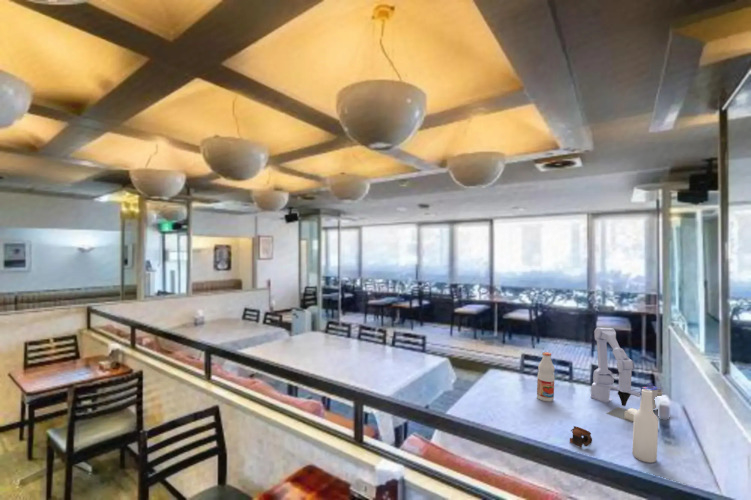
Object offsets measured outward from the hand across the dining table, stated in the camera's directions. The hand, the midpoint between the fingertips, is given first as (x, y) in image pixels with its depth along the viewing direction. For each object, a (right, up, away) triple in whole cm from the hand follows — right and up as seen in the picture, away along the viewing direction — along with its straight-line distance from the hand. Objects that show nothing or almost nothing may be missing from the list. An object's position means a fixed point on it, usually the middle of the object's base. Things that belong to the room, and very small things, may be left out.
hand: (623, 405), depth 210 cm
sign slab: (+1, -3, -2) cm, 4 cm away
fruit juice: (-35, -4, +20) cm, 40 cm away
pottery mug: (-41, -5, -33) cm, 53 cm away
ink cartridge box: (+22, -6, +10) cm, 25 cm away
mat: (+1, -6, 0) cm, 6 cm away
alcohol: (-19, -6, -43) cm, 48 cm away
